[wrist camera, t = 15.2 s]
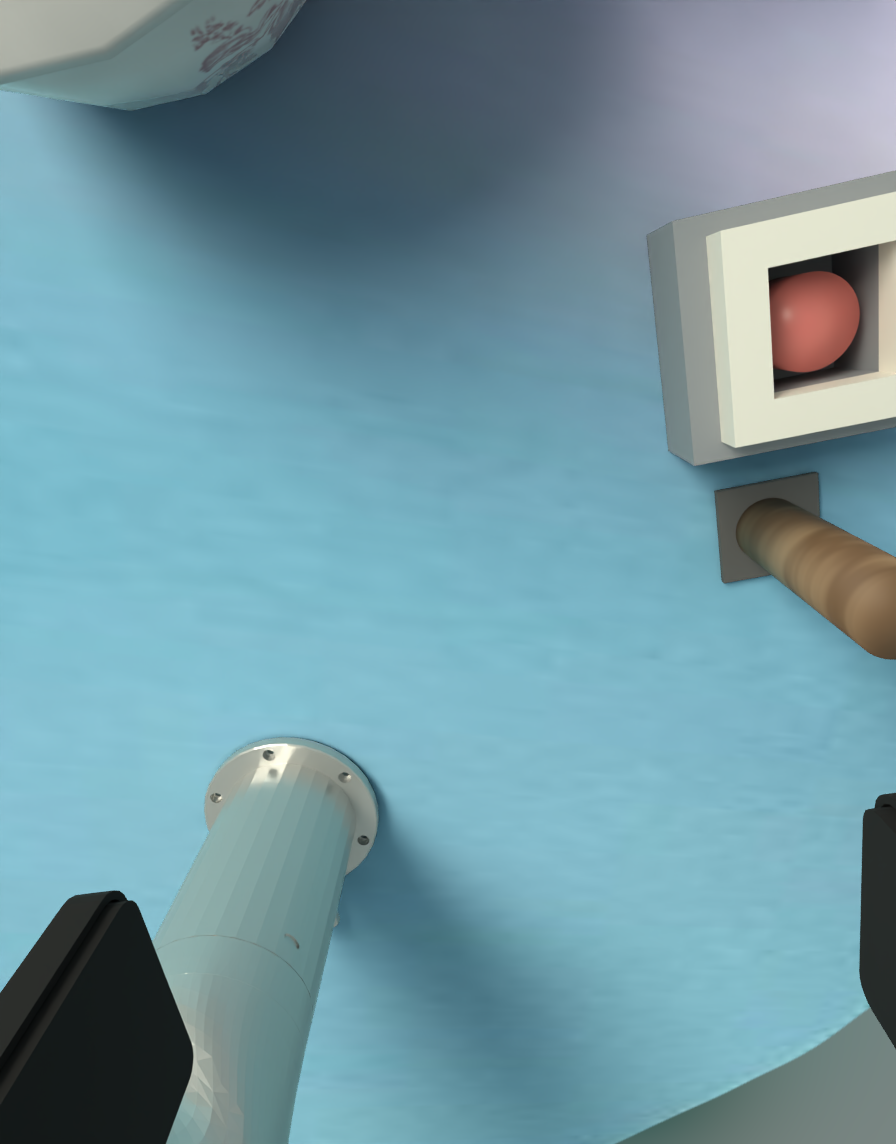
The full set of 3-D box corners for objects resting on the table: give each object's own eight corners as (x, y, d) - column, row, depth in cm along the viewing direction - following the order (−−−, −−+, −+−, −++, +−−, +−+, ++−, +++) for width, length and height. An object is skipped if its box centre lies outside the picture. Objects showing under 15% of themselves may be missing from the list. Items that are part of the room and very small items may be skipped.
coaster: (818, 563, 43) (821, 566, 43) (721, 581, 44) (723, 583, 44) (815, 471, 41) (818, 472, 41) (714, 490, 42) (716, 492, 42)
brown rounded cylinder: (800, 491, 41) (953, 564, 28) (803, 553, 43) (951, 650, 29) (733, 504, 42) (852, 582, 29) (738, 565, 43) (854, 666, 30)
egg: (826, 358, 38) (860, 361, 35) (739, 376, 39) (764, 380, 36) (824, 267, 37) (859, 261, 34) (733, 287, 37) (759, 282, 34)
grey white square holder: (892, 406, 40) (976, 421, 33) (668, 450, 41) (706, 473, 35) (893, 179, 36) (988, 145, 30) (646, 235, 37) (684, 214, 31)
